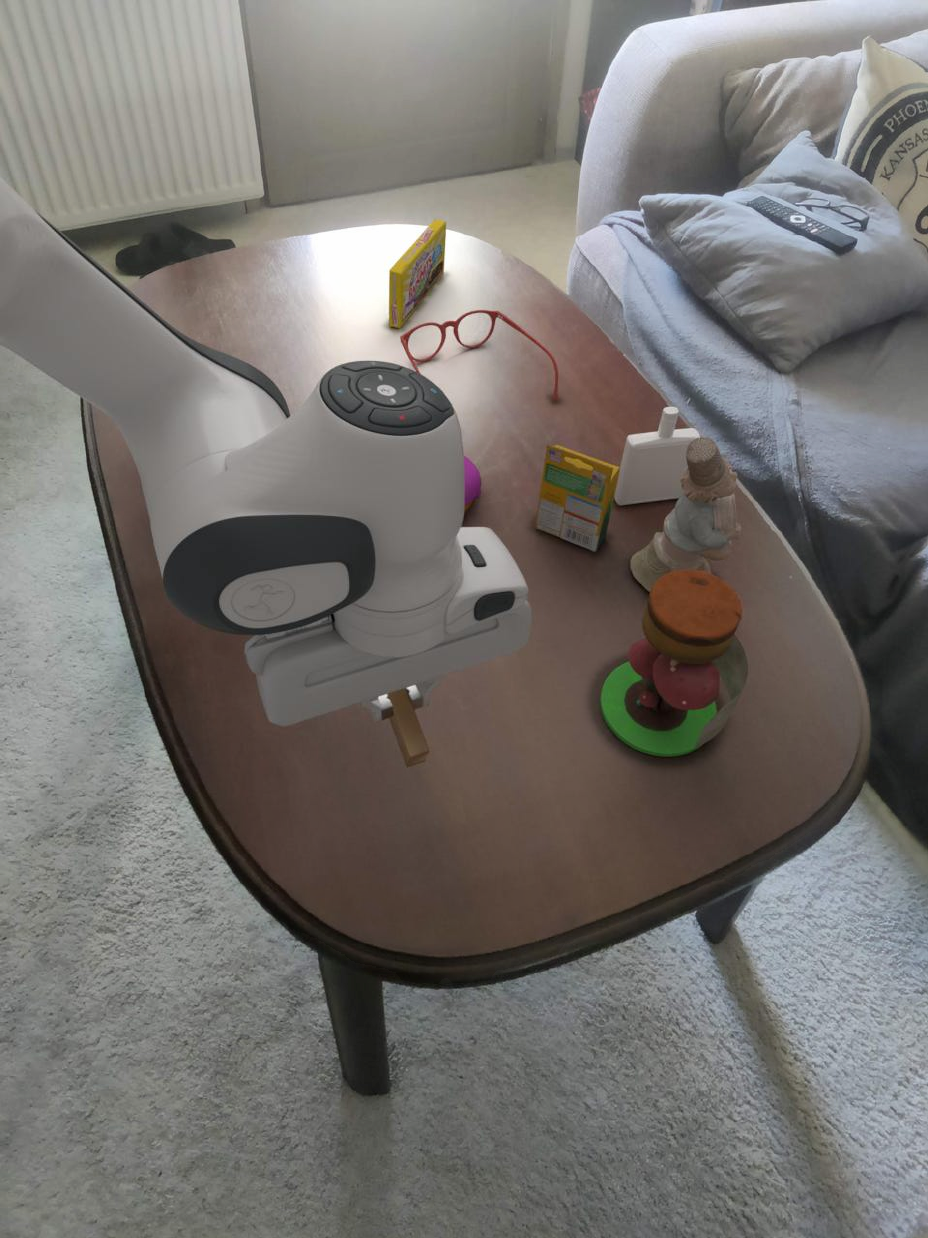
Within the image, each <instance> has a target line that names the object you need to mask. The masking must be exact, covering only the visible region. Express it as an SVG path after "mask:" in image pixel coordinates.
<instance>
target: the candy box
mask: <svg viewBox="0 0 928 1238" xmlns="http://www.w3.org/2000/svg"><path fill="white" fill-rule="evenodd" d="M446 238H447V221H445V220H441V219H437V218H435V219H434V220H433V221H432V222H431V223H430V224H429V225H428V226H427V227H426V229H424V231H423V232H422V233H421V234H420V235H419V236H418V237H417V239H415V241H414V242H413V243H412V244H411V245H410V247H408V248H407V250H406V251H405V252H404V253H403V254H402V255H401V257H400V258H398V260H396V262H395V263H394V264H393V266H391V268H390V269H389V273H388V275H389V277H388V279H389V280H388V281H389V282H388V326H389V327H391V328H395V329H401V328H402V327H403V325H404V324H405V322H406V321H407V320H408V319H409V318H410V316H411V315H412V314H413V312H414V311H416V309H417V308H418V307H419V305H420V304H421V303H422V302H423V300H424V299H425V298H426V297H427V296H428V294H430V292H431V291H432V289H434V287H435V285H436V284H437V283H438V281H440V279H442V277H443V276H444V273H445V272H444V271H445V256H446V255H445V254H446Z"/></svg>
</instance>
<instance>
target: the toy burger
mask: <svg viewBox="0 0 928 1238" xmlns="http://www.w3.org/2000/svg"><path fill="white" fill-rule="evenodd" d="M742 616H743V607H742V603H741V600H740V598H739V595H738V594H737V593H736V592H735V590H734V589H733V587H732V586H731V585H729V584H728V582H726V581H724V580H723V579H721V578H720V577H718V576H716V575H714V574H713V573H711V574H710V573H706V572H703V571H699V570H692V569H682V570H676V571H672V572H669V573H667V574H665V575H663V576H662V577H660V578H659V579H658V580H657V581H656V582H655V583H654V585H653V587H652V588H651V590H650V592H649V595H648V597H647V600H646V604H645V607H644V611H643V614H642V619H641V629H642V631H643V634H644V637H645V638H642V639H640V640H637V641H635V642H633V643H632V644H631V645H630V647H629V648H628V652H627V653H628V654H627V655H628V661H626V662H624V663H622V664H620V665H619V666H617V667H615V668H614V669H613V670H612V671H611V672H610V673H609V674H608V675H607V677H606V679H605V681H604V683H603V684H602V689H601V692H600V696H599V697H600V698H599V699H600V710H601V714H602V716H603V719H604V721H605V723H606V725H607V726H608V728H609V730H610V731H611V732H612V733H613V734H614V735H615V736H616V737H617V738H618V739H619V740H620V741H621V742H623V743H624V744H625V745H627V746H629V747H630V748H632V749H634V750H636V751H638V752H641V753H644V754H647V755H651V756H655V757H663V758H664V757H665V758H666V757H667V758H669V757H671V758H672V757H679V756H680V757H681V756H683V755H687V754H690V753H693V752H694V751H696V750H697V749H699V748H701V747H702V746H703V745H704V744H706V743H708V742H710V741H711V740H712V739H714V738H715V737H717V736H718V735H719V733H720V732H721V731H722V730H723V729H724V727H725V726H726V725H727V722H728V720H729V718H730V716H731V714H732V712H733V710H734V709H735V708H736V706H737V703H738V702H739V700H740V698H741V695H742V692H743V690H744V688H745V686H746V682H747V679H748V674H749V662H748V658H747V654H746V651H745V648H744V646H743V644H742V642H741V641H740V639H739V638H738V637H737V636H736V635H735V634H736V632H737V630H738V627H739V625H740V623H741V620H742ZM721 679H722V680H723V682H724V684H725V687H726V690H727V693H728V695H729V701H728V702H727V703H726V704H724V706H722V707H721V708H720V709H719V710H718V711H717V704H716V701H717V698H718V696H719V692H720V683H721V682H720V681H721Z"/></svg>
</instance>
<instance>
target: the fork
mask: <svg viewBox="0 0 928 1238" xmlns="http://www.w3.org/2000/svg"><path fill="white" fill-rule="evenodd" d="M388 699H390V701H391V703H392V705H393V712H392V713H393V717H390V718H388V720H389V723H390V725H391V728H392V730H393V734H394V737H395V739H396V742H397V744H398V747H399V750H400V753H401V755H402V758H403V761H404V763H405V766H406V768H411V767H414V766H416V765H419V764H422V763H425V762H427V759H428V756H429V753H430V747H429V745H428V742H427V739H426V737H425V734H424V731H423V729H422V726H421V723H420V722H419V719H418V718H419V717H418V716H417V713H416V709H415V710H414V708H413V705H412V703H411V701H410V698H409V695H408V692H407V690H406V688H404V689H401V690H398V691H395V692H392V693H388Z"/></svg>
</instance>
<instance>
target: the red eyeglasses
mask: <svg viewBox="0 0 928 1238" xmlns="http://www.w3.org/2000/svg"><path fill="white" fill-rule="evenodd" d="M473 314H486V315H488V316H489V318H490V320H491V325H490V329H489V332H488V333H487V335H486V337H485V338H484V339H483V340H482V341H481V342H479V343H477V344H474V345H466V344H464V343H463V342H462V341H461V339H460V334H459V326H460V323H461V322H462V320H463V319H464V318H466V317H468V316H470V315H473ZM497 318H498V319H500V320H501V321H503V322H504V323H505V324H507V325H509V326H510V327H511V328H513V329H514V330H516V331H518V332H519V333H520V334H522V335H523V336H524V337H526V338H528V340H530V341H531V342H533V343H534V344H535V345H536V346H538V348H540V349H541V350H542V351H543V352H544V353H546V355H547V356H548V357H549V358H550V360H551V362H552V365H553V369H554V387H553V388H554V389H553V396H552V397H553V398H552V399H553V401H554V402H556V401H557V399H558V389H559V368H558V365H557V362H556V359H555V358H554V356H553V354H552V353H551V352H550V351H549V350H548V349H547V348H546V347H545V346H544V345H543V344H542V343H540V342H539V341H538V340H537V339H536V338H534V337H533V336H532V335H530V333H528V332H527V331H525V330H524V328H522V327H521V326H520V325H519V324H517V323H516V322H515V321H513V320H512V319H511V318H509V317H508V316H506V315H505V314H503V313H502V312H501V311H499V310H489V309H476V310H470V311H468V312H465V313H463V314H461V316H459V317H458V318H457V319H456V320H447V321H444V322H443V323H441V324H440V323H437V322H424V323H421V324H419V325H416V326H415V327H413V328H411V329H409V330H408V331H407V332H405V333H404V334H402V335H400V337H399V339H400V343H401V346H402V347H403V349H404V351H405V354H406V356H407V358H408V359H409V361H410V363H411V365H412V367H413V370H414V371H416V372H418V373H420V374H421V372H420V370H419V368H418V367H417V364H416V363H415V362H418V363H425V362H428V361H430V360H432V359H433V358H435V357H436V356H437V355H438V353H439V352H440V351H441V349H442V348H443V346H444V344H445V341H446V339H447V328H448V327H452V331H453V335H454V337H455V339H456V341H457V343H459V345H460V346H462V347H465V348H466V349H476V348H478V347H481V346H483V345H484V344H485V343H486V342H488V340H489V339H490V338H491V336H492V335H493V332H494V329H495V326H496V320H497ZM427 326H434V327H436V328H438V329H439V331H440V334H441V335H440V337H441V338H440V342H439V344H438V347H437V348H436V349H435V351H434V352H433V353H432V354H431V355H430V356H428V357H426V358H421V359H420V358H416V357H414V356H413V355H412V353H411V351H410V348H409V342H410V341H409V340H410V337H411V336H412V335H413V333H414V332H415V331H417V330H419V329H421V328H423V327H427Z"/></svg>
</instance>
